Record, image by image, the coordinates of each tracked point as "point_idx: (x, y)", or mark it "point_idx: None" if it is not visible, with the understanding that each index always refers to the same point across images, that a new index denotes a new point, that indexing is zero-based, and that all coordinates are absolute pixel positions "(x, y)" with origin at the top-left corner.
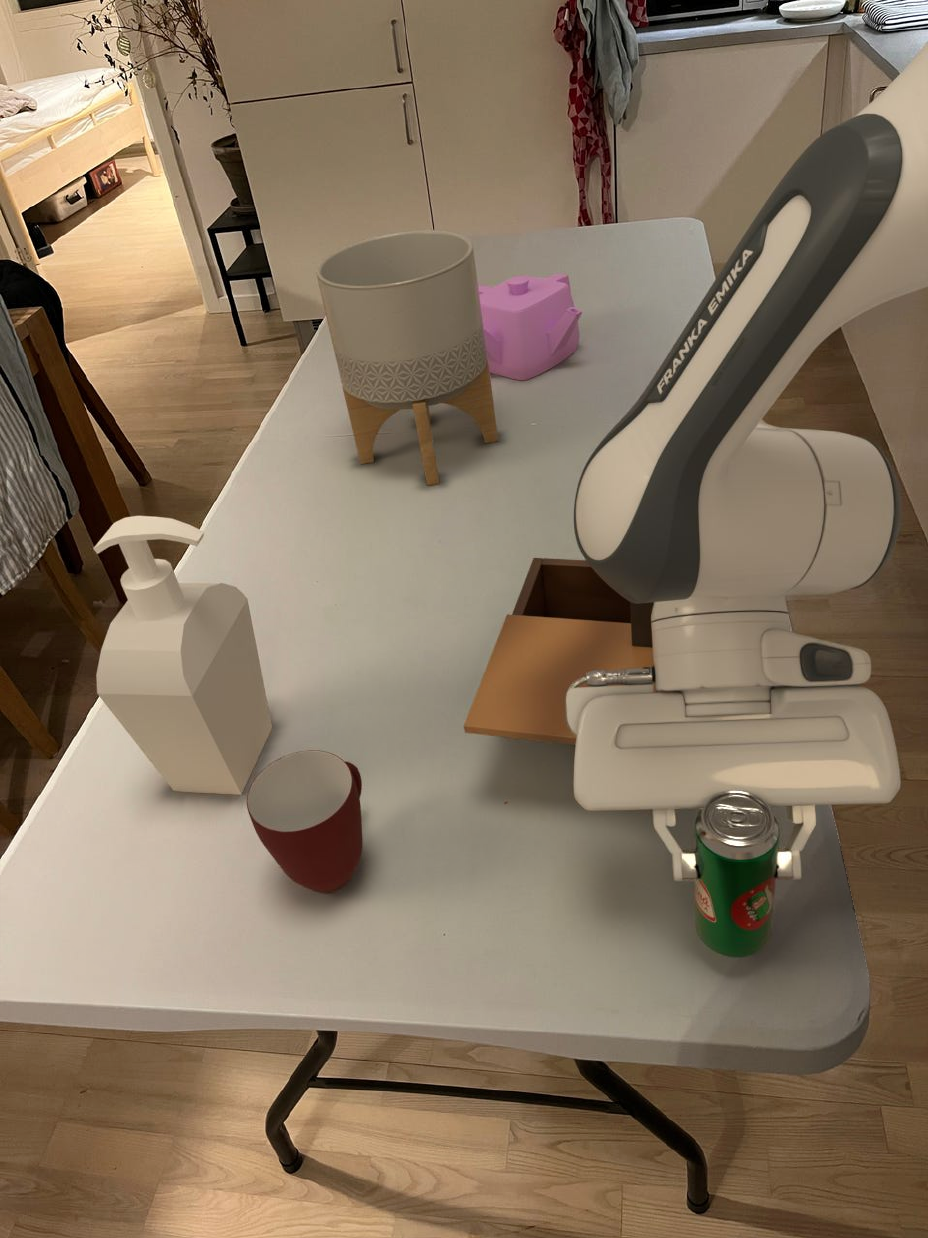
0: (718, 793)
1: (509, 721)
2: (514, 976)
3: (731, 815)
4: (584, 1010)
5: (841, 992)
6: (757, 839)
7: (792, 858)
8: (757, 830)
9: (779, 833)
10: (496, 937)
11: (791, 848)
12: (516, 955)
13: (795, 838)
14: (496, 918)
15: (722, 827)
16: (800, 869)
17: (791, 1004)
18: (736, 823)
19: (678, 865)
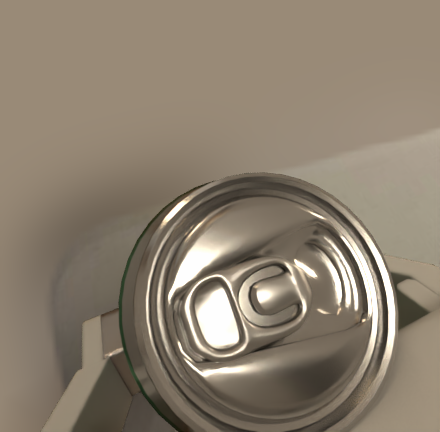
0: (380, 392)
1: None
2: (380, 191)
3: (296, 293)
4: (308, 181)
5: (67, 296)
6: (178, 216)
7: (101, 346)
8: (187, 256)
9: (119, 328)
10: (417, 223)
11: (103, 364)
12: (391, 211)
13: (92, 396)
14: (430, 243)
15: (303, 241)
16: (83, 331)
17: (120, 259)
18: (267, 262)
19: None
